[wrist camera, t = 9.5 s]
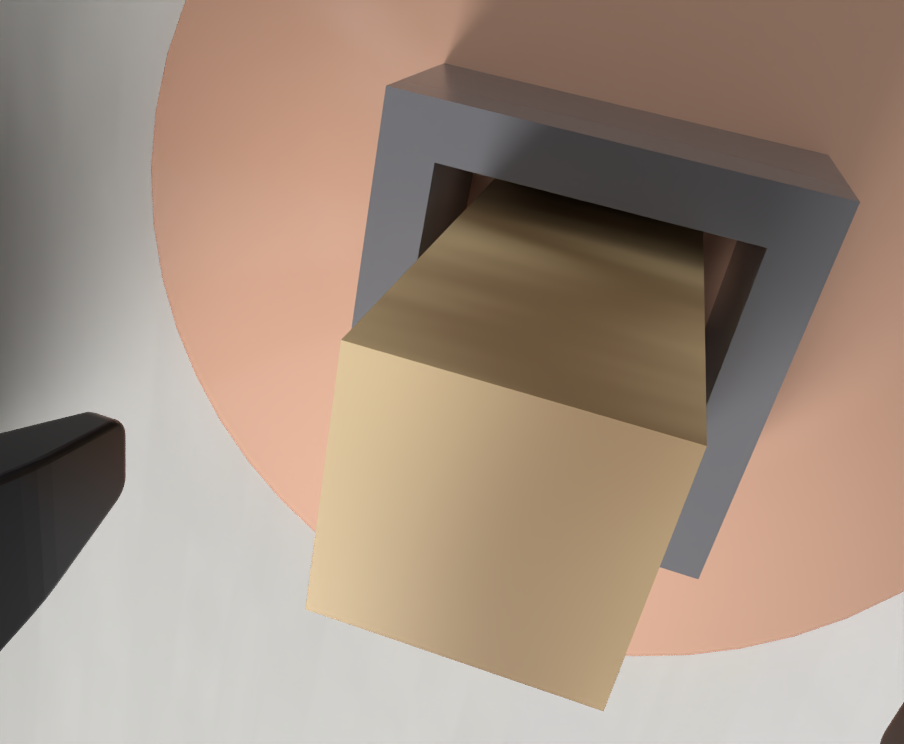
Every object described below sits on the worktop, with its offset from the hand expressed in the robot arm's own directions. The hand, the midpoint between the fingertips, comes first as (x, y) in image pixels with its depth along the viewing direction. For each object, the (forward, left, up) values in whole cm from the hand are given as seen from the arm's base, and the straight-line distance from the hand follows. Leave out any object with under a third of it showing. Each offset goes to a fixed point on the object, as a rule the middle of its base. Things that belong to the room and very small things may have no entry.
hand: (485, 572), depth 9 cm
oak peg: (0, 0, -10) cm, 10 cm away
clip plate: (0, 0, -11) cm, 11 cm away
